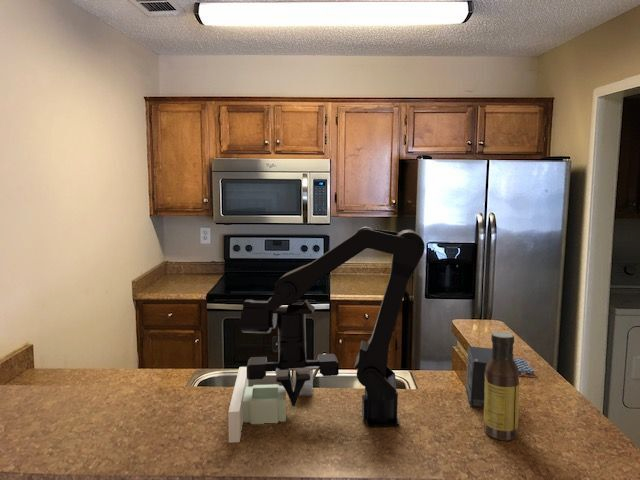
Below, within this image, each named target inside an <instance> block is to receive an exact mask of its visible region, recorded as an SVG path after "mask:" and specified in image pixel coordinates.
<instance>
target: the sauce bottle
mask: <svg viewBox="0 0 640 480" xmlns="http://www.w3.org/2000/svg"><path fill="white" fill-rule="evenodd" d="M491 342H492V344H491V346H492V347H491V348H492V357H491V359H490V360H489V362H488V363H487V364H486V368H485V386H484V408H483V423H484V424H483V429H484V431H485V433H486V434H487V435H488V436H489V437H491V438H493V439H497V440H500V441H511V440H514V439H515V438H516V437H517V434H518V428H519V407H520V406H519V405H520V401H519V399H520V376H519V369H518V367H517V365H516V363H515V362H514V360H513V357H514V344H515V334H513V333H511V332H508V331H503V330H502V331H494V332H491Z"/></svg>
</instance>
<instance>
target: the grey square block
mask: <svg viewBox="0 0 640 480" xmlns="http://www.w3.org/2000/svg"><path fill="white" fill-rule="evenodd" d="M313 376H314V370H310V380H309V381H305V383H304V385H303V387H302V389H301V391H300V393H299V396H298V397H300V396H301V397H302V396H313V395H314V393H313V391H314V390H313V388H314V387H313V385H314V382H313V381H314V377H313Z"/></svg>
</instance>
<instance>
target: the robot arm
mask: <svg viewBox="0 0 640 480" xmlns="http://www.w3.org/2000/svg"><path fill="white" fill-rule="evenodd" d="M425 247H426V246H425V242H424V240H423V238H422V236H421V235H420V234H419V233H418V232H417V231H415V230H414V229H403V230H401V231H399V232H397V231H392V230H384V229H377V228H372V227H370V226H362V227H360V228H359V229H357V231H356V232H355V233H353V234H352V235H350V236H349V237H347V238H346V239H344V240H342V242H340V243H338V244H336V246H334V247H333V248H331V249H330V250H328V251H327V252H325V253H324V254H322V255H321V256H320V257H318V258H316V259H315V260H313V261H312V262H309V263H307V264H304V265H301V266H299V267H297V268H295V269H293V270H290V271H288V272H286V273H285V274H283V275H282V276H281V277H280V278H278V279H277V281H276V282H275V284H274V289H273V290H274V293H273V295H272V296H271V297H269V299H268V300H254V299H245V300H244V301H243V302H242V309H241V315H240V318H239V326H240V327H239V328H240V331H241V333H245V334H246V333H248V334H270V333H271V332H272V329H276V327H277V336H272V339H271V340H272V347H271V348H272V352H278V361H268V357H267V356H251V357H250V358H249V359H248V360H247V364H246V365H247V366H246V367H247V379H248V381H250V380H252V381H253V380H263V379H264V378H265V377H266V376H267V372H268V373H269V372H275V373H274V374H275V382H277V383H281V386H283V387H284V388H285V390H286V395H287V396H288V400H289V401H290V403H291V406H292V407H296V405H297V401H298V398H299V397H300V396H299V393H300V391H301V389H302V387H303V385H304V383H305V381H309V380H310V370H313V371H314V370H319V374H321V376H323V377H336V376H339V374H340V373H339V371H340V369H339V361H338V358H337V356H336V354H334V353H321V354H319V353H318V354H317V359H307V338H306V337H307V332H306V327H307V326H306V325H307V324H306V315H312V314H313V313H314V312H315V309H316V307H315V306H314V305H313V304H311V303H310V302H309V301H308V299H305V300H304V302H302V303H297V302H298V301H299V300H300V299H301V298H302V297H304V296H305V294H307V293H308V292H309V291H310V290H311V289H312V288H313V287H314V285H316V284H317V283H318V282H319V281H320V280H321V279H323V278H324V277H325V276H327V275H328V274H330V273H332V272H333V271H334V270H336V269H338V268H339V267H341V266H342V265H343V264H345V263H346V262H348V261H350V259H353V258H354V257H355V256H357V255H359V254H360V253H362V252H363V251H365V250H366V249H371V250H375V251H378V252H383V253H386V254H389V255H391V262H390V263H391V266H390V272H389V276H388V281H387V284H386V287H385V290H384V294H383V297H382V300H381V304H380V307H379V312H378V313H377V317H376V320H375V324H374V326H373V329H372V330H373V331H372V334H371V337H370V338H369V339H368V341H367V342H366V341H364V340H360V347H359V352H358V354H357V355H356V356H355V363H354V369H355V370H356V378H357V380H358V382H359V384H360V385H361V386H363V387H364V394H362V395H361V416H362V418H363V420H364V421H365V423H366V426H367V427H370V428H371V427H372V428H374V427H398V426H400V421H399V419H398V404H399V403H398V399H399V397H398V394H399V392H398V390H397V384H396V383H397V381H396V372H394V371H393V370H392V368H390V367H389V366H388V359H389V350H390V349H389V346H390V344H391V343H390V342H391V340H392V336H393V332H394V329H395V326H396V323H397V321H398V317H399V314H400V313H399V312H400V309H401V306H402V303H403V299H404V296H405V293H406V289H407V286H408V283H409V280H410V278H411V277H412V275H413V274H414V272H415V270H416V269H417V267H418V265H419V263H420V261H421V259H422V257H423V255H424V253H425ZM285 304H286V305H287V306H283V305H285ZM291 371H294V372H295V373H294V385H293V381H292V375H291Z"/></svg>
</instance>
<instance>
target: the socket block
mask: <svg viewBox="0 0 640 480" xmlns="http://www.w3.org/2000/svg"><path fill="white" fill-rule="evenodd" d="M286 400H287V392H286V390H285V388H284V387H283V385H279V384H278V383H277V384H275V383H274V384H253V386H248V387H246V388H245V393H244V398H243V422H246V423H250V425H265V424H264V423H276V424H277V423H278V424H279V422H278V421H280V422H286V421H287V420H286V419H287V413H286V412H287V409H286V408H287V401H286Z"/></svg>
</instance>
